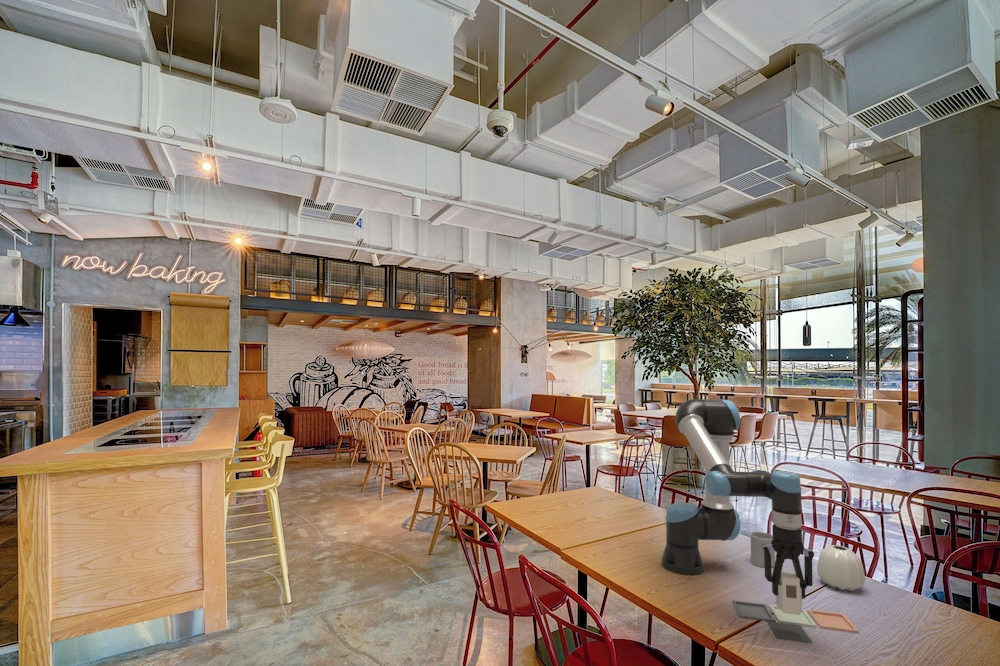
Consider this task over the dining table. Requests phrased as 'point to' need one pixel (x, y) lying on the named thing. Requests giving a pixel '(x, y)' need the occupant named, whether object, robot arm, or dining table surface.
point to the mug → (760, 548)
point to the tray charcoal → (753, 611)
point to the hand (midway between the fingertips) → (788, 607)
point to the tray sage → (793, 617)
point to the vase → (840, 568)
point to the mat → (789, 632)
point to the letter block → (790, 593)
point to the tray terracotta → (832, 621)
